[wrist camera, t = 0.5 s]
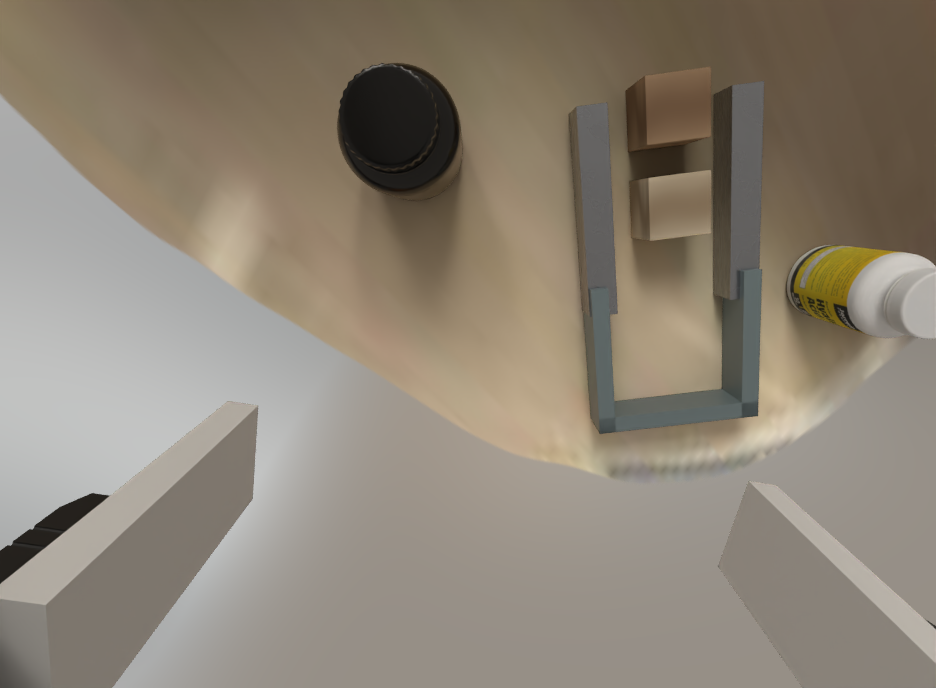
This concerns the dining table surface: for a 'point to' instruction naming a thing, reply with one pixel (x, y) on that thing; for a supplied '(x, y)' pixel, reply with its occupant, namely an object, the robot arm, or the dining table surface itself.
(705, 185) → the beige cube
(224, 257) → the dining table surface
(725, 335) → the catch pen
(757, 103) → the slot rails
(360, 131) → the supplement bottle
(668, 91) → the brown cube
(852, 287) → the supplement bottle
